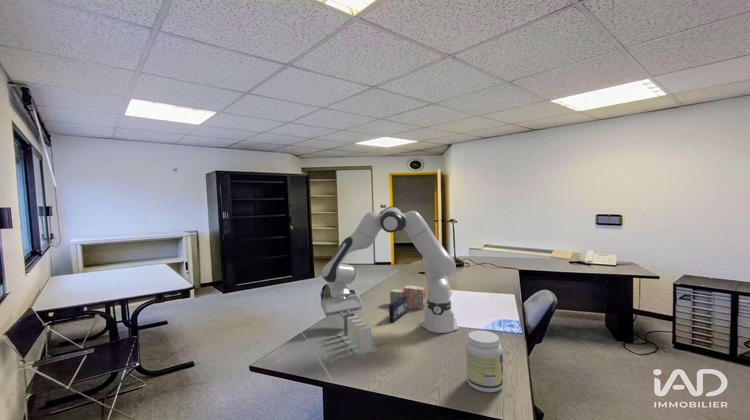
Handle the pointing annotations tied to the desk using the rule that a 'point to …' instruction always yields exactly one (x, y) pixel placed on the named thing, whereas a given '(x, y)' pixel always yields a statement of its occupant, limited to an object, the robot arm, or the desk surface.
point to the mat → (353, 346)
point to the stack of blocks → (410, 296)
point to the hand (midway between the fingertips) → (346, 319)
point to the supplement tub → (484, 361)
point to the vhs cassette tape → (397, 309)
